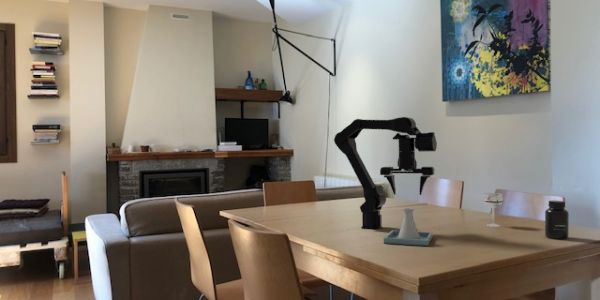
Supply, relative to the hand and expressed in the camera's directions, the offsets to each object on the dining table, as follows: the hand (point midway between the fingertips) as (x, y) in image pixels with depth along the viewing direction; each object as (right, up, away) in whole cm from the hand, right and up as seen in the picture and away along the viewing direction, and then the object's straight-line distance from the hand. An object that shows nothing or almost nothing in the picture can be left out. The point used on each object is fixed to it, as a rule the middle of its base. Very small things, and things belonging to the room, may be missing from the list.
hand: (407, 194), depth 170 cm
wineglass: (+34, -13, +7) cm, 37 cm away
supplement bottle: (+45, -13, -17) cm, 50 cm away
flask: (-4, -13, -18) cm, 22 cm away
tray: (-4, -13, -18) cm, 22 cm away
